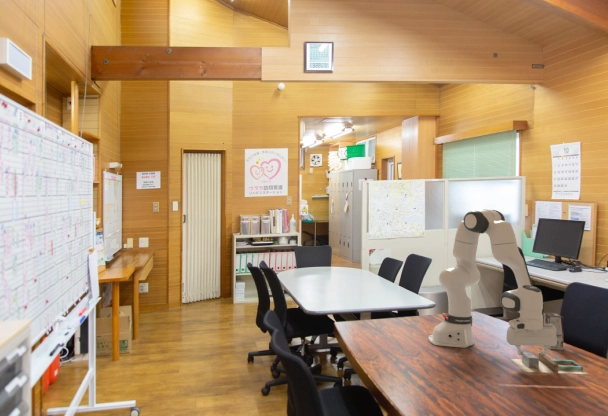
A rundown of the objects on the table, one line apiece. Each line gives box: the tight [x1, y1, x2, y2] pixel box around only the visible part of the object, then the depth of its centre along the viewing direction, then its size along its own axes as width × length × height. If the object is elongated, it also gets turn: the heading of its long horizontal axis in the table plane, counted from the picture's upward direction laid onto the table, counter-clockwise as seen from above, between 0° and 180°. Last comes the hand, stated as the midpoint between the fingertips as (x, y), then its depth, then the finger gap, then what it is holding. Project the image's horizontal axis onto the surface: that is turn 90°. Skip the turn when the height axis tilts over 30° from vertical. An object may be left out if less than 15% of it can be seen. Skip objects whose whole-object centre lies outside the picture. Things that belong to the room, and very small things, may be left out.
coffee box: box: [543, 312, 565, 351], centre depth 214 cm, size 9×6×16 cm
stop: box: [521, 351, 539, 369], centre depth 187 cm, size 4×7×4 cm, turn 175°
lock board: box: [510, 352, 589, 375], centre depth 187 cm, size 26×15×4 cm, turn 85°
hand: (531, 355), depth 187 cm, fingers open, 8 cm apart
